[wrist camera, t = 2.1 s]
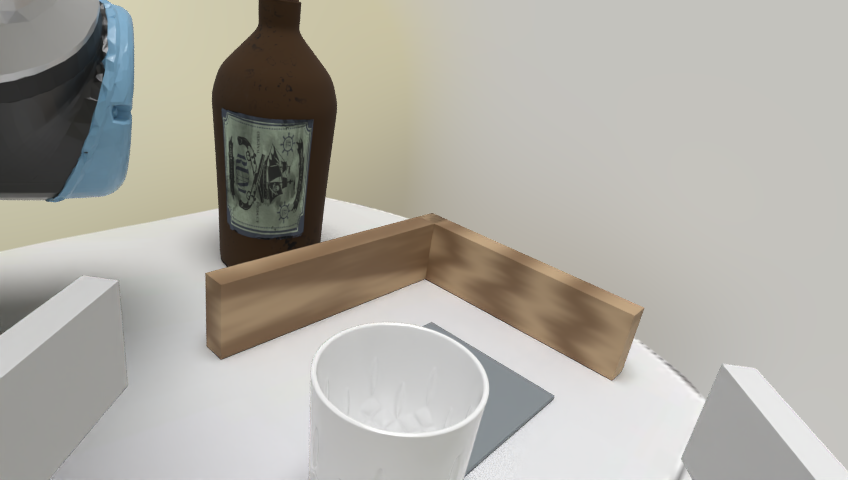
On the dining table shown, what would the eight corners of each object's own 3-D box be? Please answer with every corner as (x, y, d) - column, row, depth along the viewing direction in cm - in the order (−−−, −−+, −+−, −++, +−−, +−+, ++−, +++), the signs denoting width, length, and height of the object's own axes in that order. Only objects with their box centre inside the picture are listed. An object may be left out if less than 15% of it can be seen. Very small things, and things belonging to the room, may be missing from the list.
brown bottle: (228, 229, 58) (229, -28, 48) (328, 239, 59) (349, -8, 49) (199, 276, 48) (192, -34, 38) (319, 286, 50) (342, -10, 40)
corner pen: (206, 346, 39) (205, 273, 37) (423, 266, 57) (432, 212, 54) (432, 555, 27) (452, 466, 24) (621, 370, 44) (644, 307, 42)
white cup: (422, 458, 33) (449, 317, 29) (476, 583, 26) (521, 421, 22) (289, 480, 30) (298, 326, 26) (311, 626, 23) (328, 450, 19)
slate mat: (319, 380, 38) (319, 376, 37) (431, 324, 46) (431, 321, 46) (451, 487, 31) (452, 483, 31) (553, 399, 40) (554, 395, 39)
